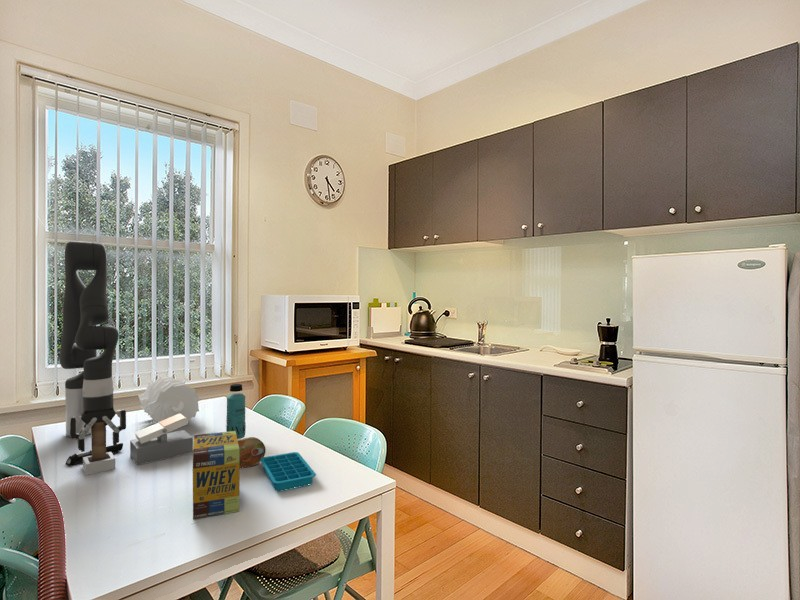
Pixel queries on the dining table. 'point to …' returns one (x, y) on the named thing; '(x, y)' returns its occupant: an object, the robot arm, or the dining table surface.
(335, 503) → the dining table surface
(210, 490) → the protein box
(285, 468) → the ice cube tray
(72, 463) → the electric trimmer
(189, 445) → the switch box
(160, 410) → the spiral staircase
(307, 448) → the dining table surface
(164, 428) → the rocker switch
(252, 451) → the tin
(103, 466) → the holder
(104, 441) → the wooden peg
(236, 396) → the beverage bottle
